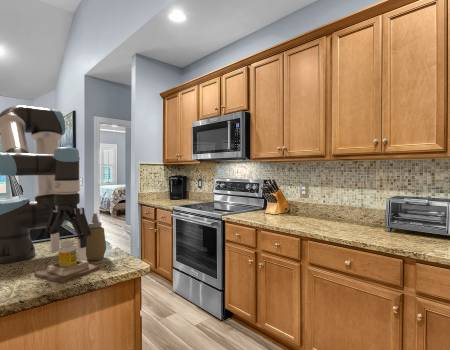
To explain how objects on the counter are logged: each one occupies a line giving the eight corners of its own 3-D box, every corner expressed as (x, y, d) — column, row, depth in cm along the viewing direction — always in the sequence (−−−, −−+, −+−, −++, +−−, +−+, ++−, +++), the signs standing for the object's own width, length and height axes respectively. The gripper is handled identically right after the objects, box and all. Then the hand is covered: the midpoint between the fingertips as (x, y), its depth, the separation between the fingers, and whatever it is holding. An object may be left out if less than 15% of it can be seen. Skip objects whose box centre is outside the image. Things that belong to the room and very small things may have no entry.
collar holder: (34, 276, 93) (34, 267, 93) (73, 263, 106) (73, 255, 106) (62, 283, 87) (62, 273, 87) (99, 268, 100) (99, 260, 100)
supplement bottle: (63, 267, 99) (62, 240, 99) (79, 265, 100) (78, 239, 100) (56, 272, 94) (55, 243, 94) (73, 271, 95) (72, 242, 95)
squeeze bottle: (97, 262, 107) (97, 215, 106) (79, 261, 108) (78, 214, 108) (110, 256, 115) (110, 212, 114) (93, 254, 116) (92, 211, 116)
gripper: (33, 192, 98) (34, 252, 99) (82, 195, 87) (83, 262, 88) (54, 190, 105) (55, 247, 105) (102, 193, 94) (103, 256, 95)
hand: (68, 254), depth 97 cm, fingers open, 13 cm apart
